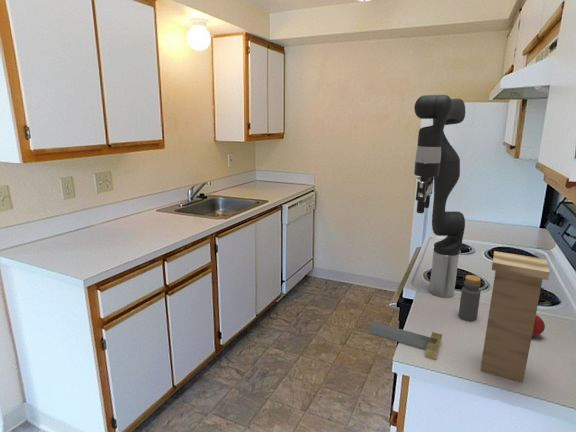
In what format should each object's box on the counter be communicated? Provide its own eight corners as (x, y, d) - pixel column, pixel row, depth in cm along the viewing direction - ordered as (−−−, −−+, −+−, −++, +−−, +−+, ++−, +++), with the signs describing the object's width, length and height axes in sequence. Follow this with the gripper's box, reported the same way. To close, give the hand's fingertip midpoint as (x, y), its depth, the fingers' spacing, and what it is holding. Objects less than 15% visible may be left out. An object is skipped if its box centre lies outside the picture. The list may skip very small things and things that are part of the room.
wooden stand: (478, 352, 111) (494, 251, 103) (526, 365, 105) (546, 259, 97) (476, 371, 103) (492, 262, 95) (527, 387, 97) (549, 272, 89)
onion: (544, 335, 120) (549, 313, 118) (539, 342, 116) (544, 319, 114) (524, 328, 124) (528, 306, 122) (518, 335, 120) (522, 312, 118)
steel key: (375, 324, 126) (376, 316, 126) (441, 343, 116) (442, 334, 116) (365, 339, 118) (366, 330, 117) (436, 360, 108) (437, 351, 107)
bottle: (478, 322, 128) (484, 281, 124) (460, 320, 129) (465, 280, 125) (474, 314, 133) (479, 274, 130) (456, 312, 135) (461, 273, 131)
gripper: (420, 158, 127) (415, 204, 131) (410, 162, 115) (406, 213, 119) (443, 159, 123) (438, 207, 127) (436, 163, 111) (430, 216, 115)
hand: (422, 210), depth 123 cm, fingers open, 8 cm apart
